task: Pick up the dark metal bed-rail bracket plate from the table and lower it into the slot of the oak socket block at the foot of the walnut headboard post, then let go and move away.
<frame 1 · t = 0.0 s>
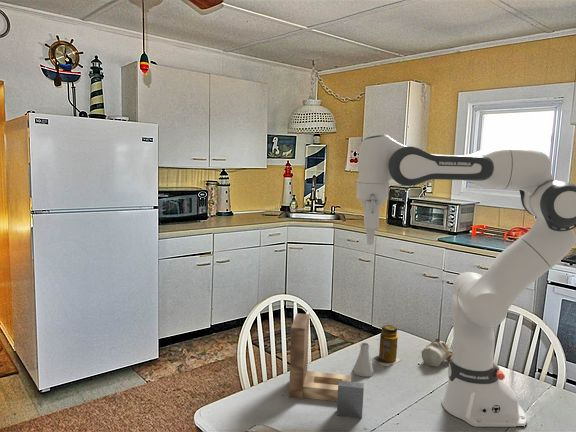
hand: (369, 240, 132), 48 cm above the table, fingers open, 8 cm apart
headboard post: (327, 391, 142), on the table
condiment: (385, 360, 164), on the table
ceramic sculpture: (436, 361, 165), on the table
flask: (363, 372, 155), on the table
rail bracket: (349, 414, 130), on the table
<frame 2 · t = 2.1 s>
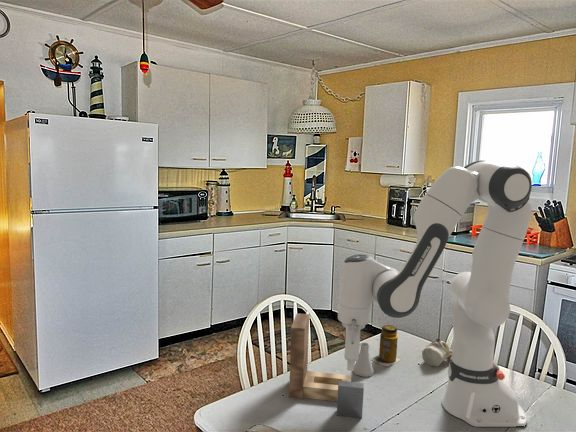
hand: (350, 361, 127), 16 cm above the table, fingers open, 8 cm apart
nothing on the table moved.
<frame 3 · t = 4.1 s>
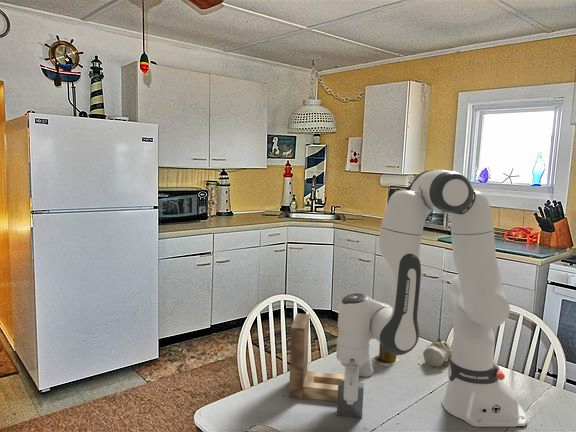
hand: (350, 398, 129), 5 cm above the table, fingers closed on rail bracket, 3 cm apart
rail bracket: (349, 414, 130), on the table, touching gripper
everything else where it was.
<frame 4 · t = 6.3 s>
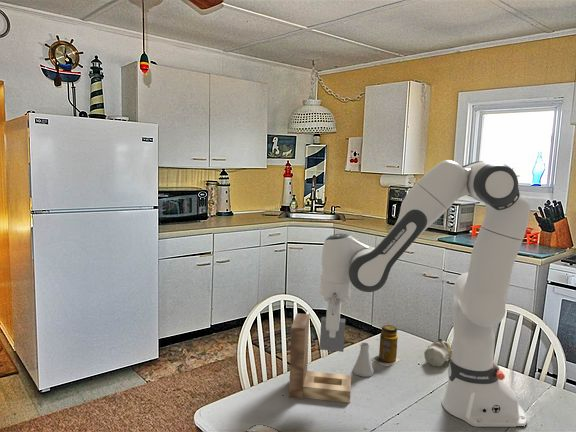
hand: (332, 333, 136), 20 cm above the table, fingers closed on rail bracket, 3 cm apart
rail bracket: (331, 348, 137), point 15 cm above the table, touching gripper
everything else where it was.
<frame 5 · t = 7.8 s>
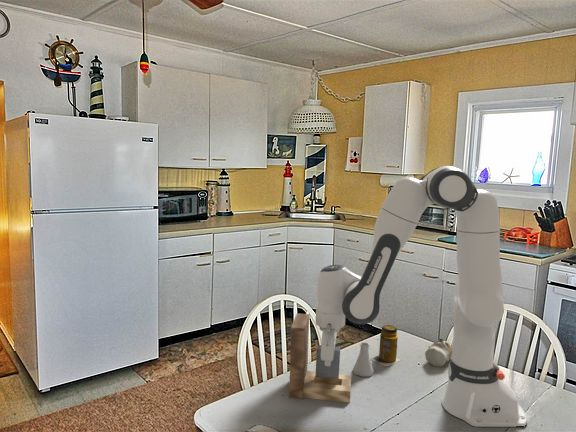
hand: (328, 361, 140), 10 cm above the table, fingers closed on rail bracket, 3 cm apart
rail bracket: (327, 375, 141), point 5 cm above the table, touching gripper
when the fingers open (6 cm above the table, at t = 8.7 s): rail bracket drops 2 cm, resting in headboard post.
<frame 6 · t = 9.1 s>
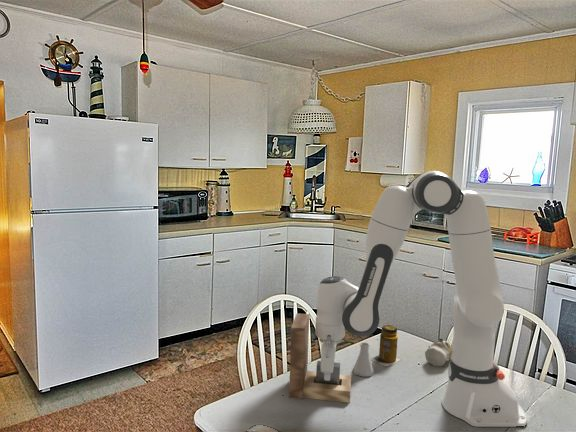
hand: (328, 372, 141), 6 cm above the table, fingers open, 7 cm apart
rail bracket: (327, 391, 142), resting in headboard post
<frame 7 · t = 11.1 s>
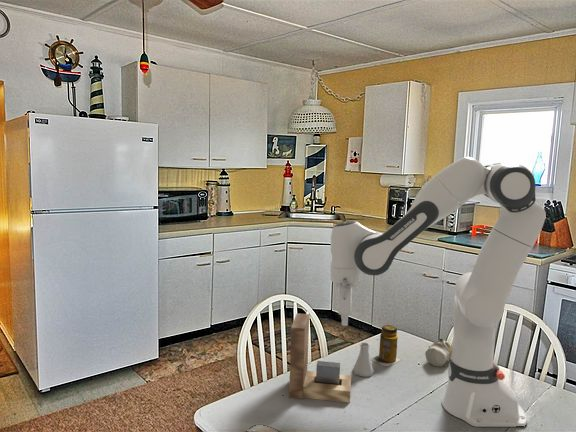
hand: (345, 319, 139), 23 cm above the table, fingers open, 8 cm apart
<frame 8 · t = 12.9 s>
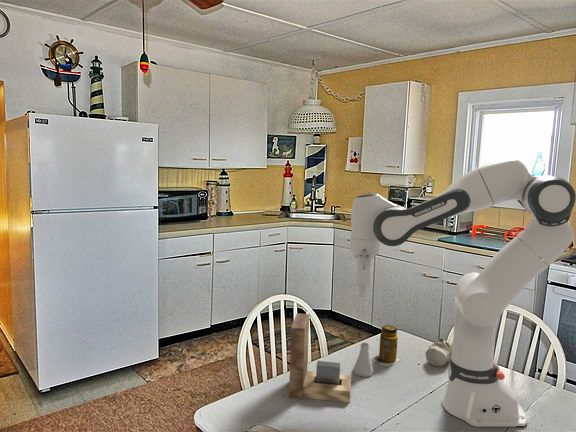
hand: (361, 291, 141), 31 cm above the table, fingers open, 8 cm apart
at the end: rail bracket 0.0 cm off-centre on the headboard post, point 0.0 cm above the headboard post's base; rail bracket tilted 0°; the gripper is holding nothing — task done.
